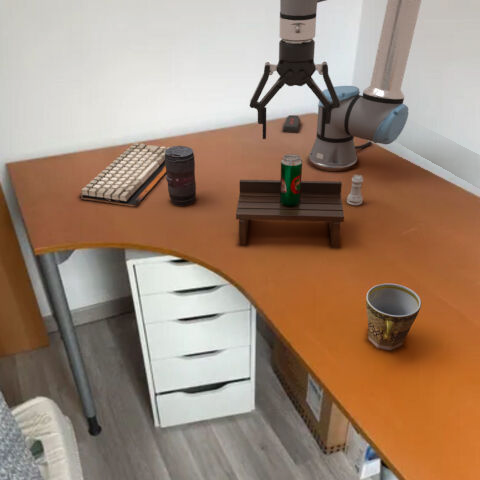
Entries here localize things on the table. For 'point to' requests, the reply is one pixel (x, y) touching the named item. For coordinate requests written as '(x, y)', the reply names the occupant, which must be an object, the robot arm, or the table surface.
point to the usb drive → (291, 124)
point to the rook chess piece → (355, 191)
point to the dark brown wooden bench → (309, 209)
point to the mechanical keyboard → (128, 176)
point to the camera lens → (180, 174)
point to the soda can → (290, 180)
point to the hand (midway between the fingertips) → (293, 137)
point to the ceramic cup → (390, 314)
